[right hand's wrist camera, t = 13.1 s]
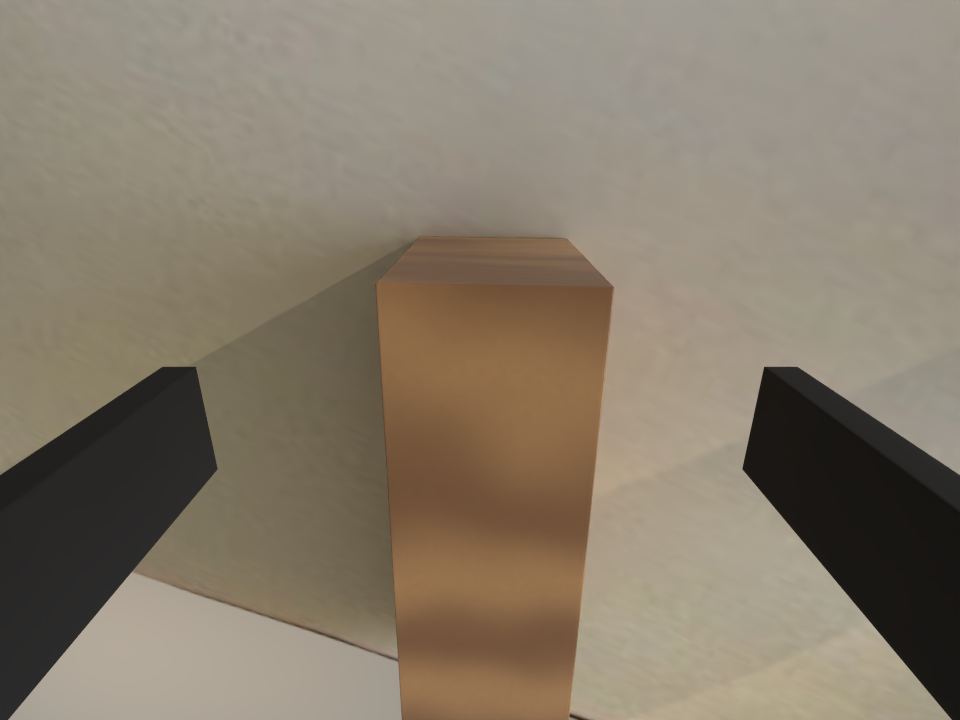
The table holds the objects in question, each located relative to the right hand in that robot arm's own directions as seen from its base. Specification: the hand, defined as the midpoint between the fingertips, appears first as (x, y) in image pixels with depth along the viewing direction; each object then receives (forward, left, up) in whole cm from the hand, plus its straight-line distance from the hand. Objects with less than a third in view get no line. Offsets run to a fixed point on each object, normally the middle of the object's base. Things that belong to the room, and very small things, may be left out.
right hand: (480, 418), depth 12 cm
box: (+7, -11, -19) cm, 23 cm away
